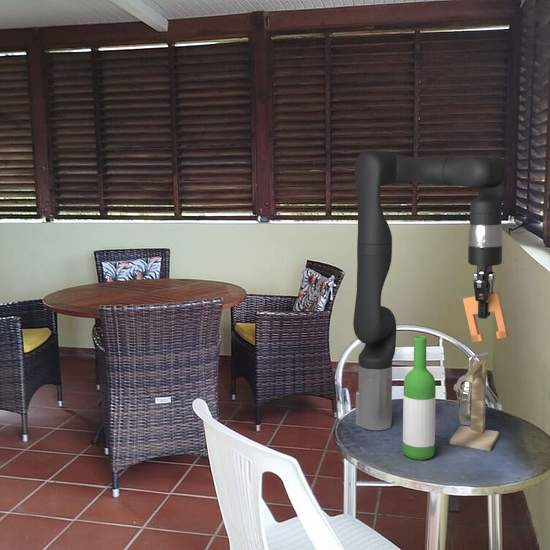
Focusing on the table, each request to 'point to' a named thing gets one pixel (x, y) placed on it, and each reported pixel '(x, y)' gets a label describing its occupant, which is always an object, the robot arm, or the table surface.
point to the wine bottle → (419, 406)
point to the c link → (493, 305)
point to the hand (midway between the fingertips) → (484, 316)
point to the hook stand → (476, 413)
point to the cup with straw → (465, 395)
